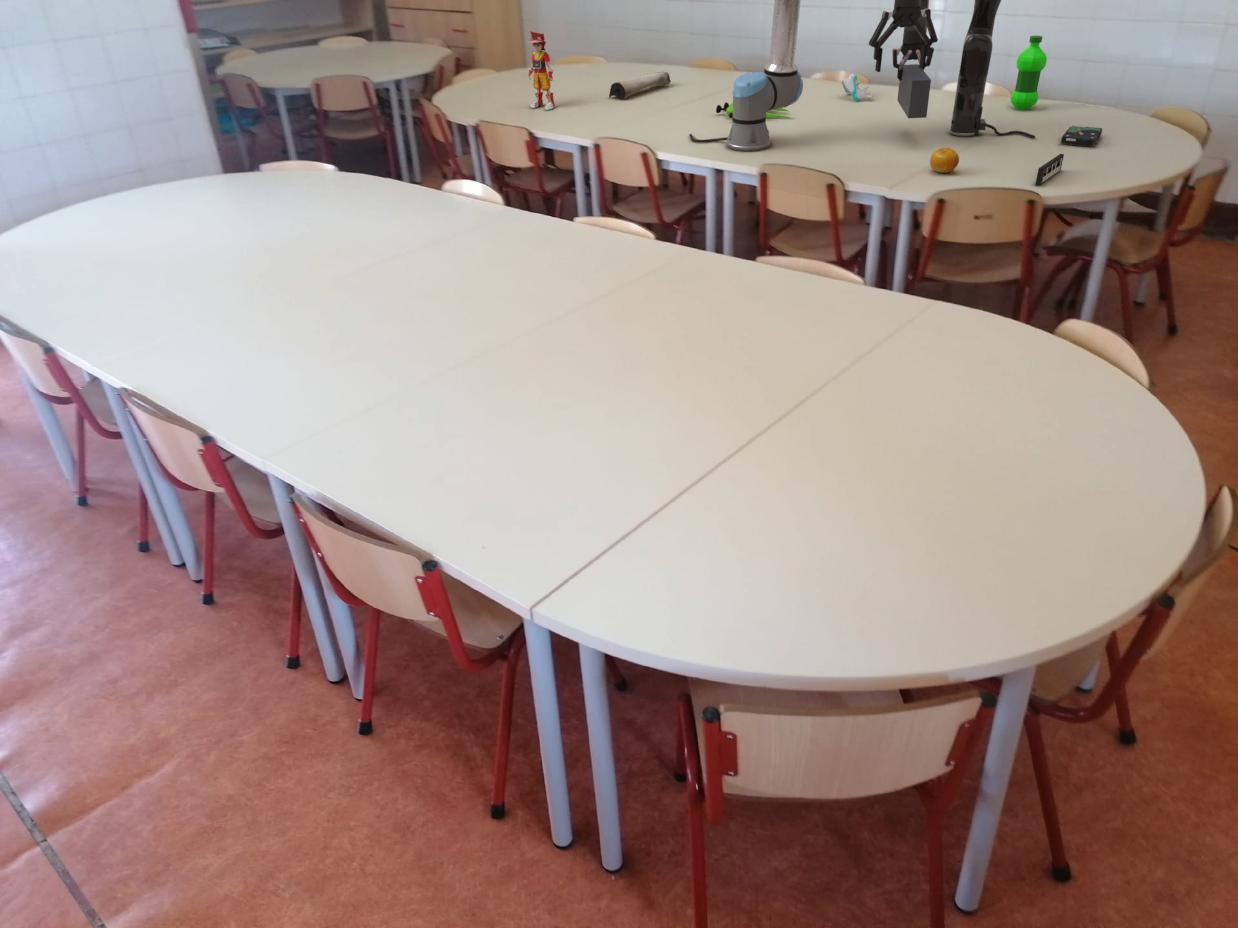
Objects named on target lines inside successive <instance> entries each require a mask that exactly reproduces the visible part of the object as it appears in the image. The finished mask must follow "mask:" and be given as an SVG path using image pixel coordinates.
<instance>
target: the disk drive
mask: <svg viewBox="0 0 1238 928" xmlns="http://www.w3.org/2000/svg"><path fill="white" fill-rule="evenodd" d="M1102 132H1103V127H1094V126H1092V127H1091V126H1076V125H1071V126H1069V127H1068V129H1067V130H1066V131H1065V132H1064V134H1063V135H1062V136H1061V142H1060V144H1063V145H1072V146H1080V147H1081V146H1082V147H1094V146H1095V145H1096V143H1097V142H1098V141H1099V139H1100V137H1101V136H1102Z"/></svg>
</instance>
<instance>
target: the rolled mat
mask: <svg viewBox="0 0 1238 928" xmlns="http://www.w3.org/2000/svg"><path fill="white" fill-rule="evenodd" d="M671 83H672V81H671V77H670V74H669V72H668V71H658V72H654V73H649V74H645V75H640V76H637V77H633V78H628V79H623V80H620V81H616V82H613V83H612V84H611V85H610V89H609V95H608V97H609V98H611V97H616V99H620V100H622V101H623V100H626V99H627V98H629V97H630V96H632V95H635V94H636V93H638V92H640V91H643V90H644V89H647V88H650V87H655V86H658V87H659V86H661V87H665V86H669V85H670V84H671Z"/></svg>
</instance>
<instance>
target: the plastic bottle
mask: <svg viewBox="0 0 1238 928" xmlns="http://www.w3.org/2000/svg"><path fill="white" fill-rule="evenodd" d="M1042 42H1043V36H1042V35H1030V37H1029V41H1028V43H1030V44H1029V46H1028V47H1026V49H1024V50H1023V51H1021V52H1020V53H1019V54H1018V56H1017V59H1016V68H1017V70H1018V71H1017V77H1016V82H1015V87H1014V90H1013V91H1012V93H1011V96H1010V103H1011V105H1012V106H1013V107H1014V108H1015V109H1016V110H1020V111H1027V110H1030V109H1031V108H1033V107H1034V106H1035V105H1036V104H1037V102H1038V101H1039V92H1038V87H1039V82H1040V78H1041V72H1042V70H1043V69H1045V67H1046V66H1047V61H1048V59H1047V54H1046V52H1044V50H1043V48H1041V47H1040V44H1041V43H1042Z"/></svg>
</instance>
